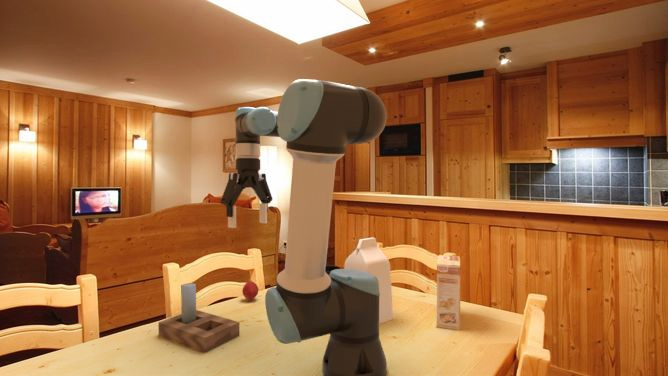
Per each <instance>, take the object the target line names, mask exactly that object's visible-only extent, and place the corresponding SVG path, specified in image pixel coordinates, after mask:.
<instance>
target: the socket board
mask: <svg viewBox="0 0 668 376" xmlns="http://www.w3.org/2000/svg"><path fill="white" fill-rule="evenodd" d="M158 337H161V338H163V339H166V340H169V341H171V342H175V343H176V344H180V345H182V346H185V347H186V348H187V347H188V348H191V349H192V350H193V349H194V350H195V351H199V352H200V353H204V354H206V353H208V352H210V351H211V350H212V351H213V350H214V349H217V348H218V347H220V346H222V345H224V344H226V343H228V342H231V341H232V340H234V339H236V338H239V337H240V321H236V320H233V319H230V318H228V317H227V318H225V317H222V316H218V315H215V314H212V313H208V312H205V311H201V310H197V309H196V321H194V322H191V323H189V324H184V323H182V314H181V313H180V314H178V315H174V316H172V317H169V318H166V319H163V320H161V321H158Z"/></svg>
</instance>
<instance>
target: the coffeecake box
mask: <svg viewBox="0 0 668 376" xmlns="http://www.w3.org/2000/svg"><path fill="white" fill-rule="evenodd" d="M461 272H462V271H461V257H460V255H446V254H444V255H443V254H439V255H438V257H437V263H436V328H443V329H449V330H453V331H454V330H455V331H461Z"/></svg>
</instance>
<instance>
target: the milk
mask: <svg viewBox="0 0 668 376" xmlns="http://www.w3.org/2000/svg"><path fill="white" fill-rule="evenodd" d="M343 269H351V270H358V271H363V272H367V273H370V274H372V275H374V276H375V277H376V278H377V279H378V282H379V293H380V296H379V325H380V324H383V323H386V322H389V321H391V320H394V311H393V293H392V292H393V291H392V290H393V289H392V275H391V274H392V273H391V263H390V261H389V258H388V257H387V256H386V255H385V253H384V252H383V251H382V249H381V248H380V247H379V246H378V243H377V239H376V237H368V238H360V239H359V240H358V244H357V246H356V248H355V249H354V250H353V251H352V252H351V254H350V255H348V257H346V259H345V261H344V267H343Z"/></svg>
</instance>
